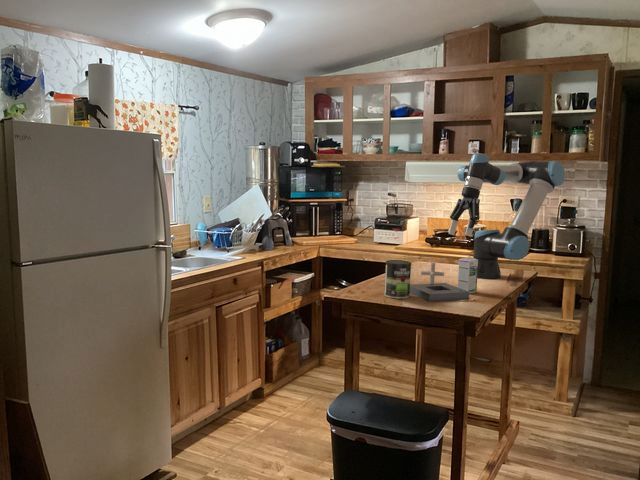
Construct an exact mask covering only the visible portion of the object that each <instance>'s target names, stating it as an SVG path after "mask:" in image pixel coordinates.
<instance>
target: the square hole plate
mask: <svg viewBox="0 0 640 480" xmlns="http://www.w3.org/2000/svg"><path fill="white" fill-rule="evenodd" d="M410 294H412V295H414V296H416V297H419V298H421V299H423V300H425V301H427V302H429V303H430V302H432V301H433V302H444V301H445V302H446V301H447V302H449V301H462V300H463V301H464V300H469V299H470V293H469V292H468V291H465V290H463V289H460V288H458V286H454V285H452V284H449V283H447V282H437V283H435V282H434V284H430V283H415V284H410ZM433 302H432V303H433Z"/></svg>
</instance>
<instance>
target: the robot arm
mask: <svg viewBox="0 0 640 480" xmlns="http://www.w3.org/2000/svg"><path fill="white" fill-rule="evenodd" d="M489 162H490V157H489V156H488V155H487V154H484V153H480V152H477V153H476V152H475V153H473V154H472V155H471V158H470V161H469V164H468V165H462V166H460V167H459V168H458V170H457V178H458V179H459V181H461V182H464V183H463V186H464V187H463V188H462V190H461V196H462V198H458V200H457V203H456V205H455V206H454V209H453V211H452V212H451V213H450V215H449V218H450V219H451V222H450V227H449V230H448V234H449V235H452V236H455V235H456V230H457V227H458V223H459V219H460V217H461V216H462V214H463V213H465V211H468V215H469V218H468V222H467V225H466V228H465V229H466V230H465V233H464V235H465V236H468V237H472V234H473V231H474V229H475V228H474V227H475V225H476V223H477V221H480V202H481V200H480V199H479V198H480V194H481V190H482V186H483V183H486V184H491V185H493V186H499V185H501V184H503V183H504V182H507V181H509V182H511V183H516V184H517V183H519V184H526V185H529V188H528V190H527V192H526V195H525V196H524V198H523V200H522V202H521V203H520V206H519V208H518V210H517V212H516V213H515V215H514V216H513V219H512V222H511V223H510V225H508V226H505V227H504V229H503V231H502V232H501V231H500V229H482V230H480V229H479V230H476V231H475V234H474V238H473V257H472V258H475V259H478V271H477V279H487V280H490V279H496V280H497V279H500V278H501V277H502V276H501V275H502V271H501V269H500V264H499V259H504V260H509V261H519V260H522V259H524V257H526V255H528V252H529V250H530V241H529V235H528V233H529V231H530V230H531V229H530V228H531V227H532V226H533V223H534V221H535V219H536V217H537V215H538V213H539V211H540V209H541V207H542V206H543V204H544V201H545V199H546V197H547V195H548V194H550V193H552V192H553V191H554V190H555V187H559V186H562V184H563V183H564V181H565V177H566V173H565V168H564V166H563V164H562V163H561V162H559V161H556V160H555V161H553V160H549V161H547V160H546V161H545V160H543V161H541V160H540V161H539V160H536V161H535V160H531V161H523V162H518V163H517V162H515V163H511V164H509V165H506V164H505V165H501V164H499V165H493V164H491V163H489Z"/></svg>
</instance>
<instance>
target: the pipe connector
mask: <svg viewBox="0 0 640 480" xmlns="http://www.w3.org/2000/svg"><path fill="white" fill-rule="evenodd" d="M420 275H421V276H429V277H430V278H429V284H435V277H436V276H437V277H444V276H445V272H444V271H436V262H432V261H431V263H430V270H429V271H427V270H421V271H420Z"/></svg>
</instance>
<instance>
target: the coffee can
mask: <svg viewBox="0 0 640 480" xmlns="http://www.w3.org/2000/svg"><path fill="white" fill-rule="evenodd" d="M411 269H412V262H411V261H409V260H402V259H401V260H400V259H390V260H386V261H385V275H384V276H385V278H384V279H385V281H384V296H385V297H386V298H388V299H389V298H390V299H398V300H401V299H402V300H403V299H404V300H405V299H408V298H409V299H410V294H411V293H410V285H411Z"/></svg>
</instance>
